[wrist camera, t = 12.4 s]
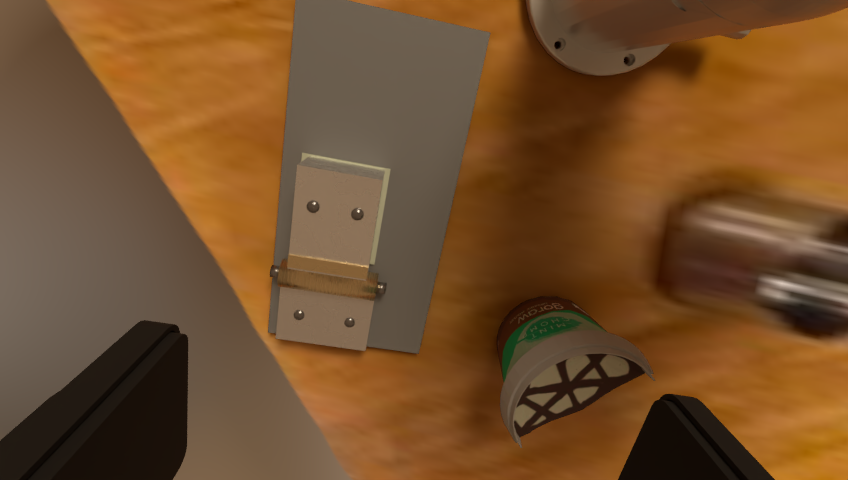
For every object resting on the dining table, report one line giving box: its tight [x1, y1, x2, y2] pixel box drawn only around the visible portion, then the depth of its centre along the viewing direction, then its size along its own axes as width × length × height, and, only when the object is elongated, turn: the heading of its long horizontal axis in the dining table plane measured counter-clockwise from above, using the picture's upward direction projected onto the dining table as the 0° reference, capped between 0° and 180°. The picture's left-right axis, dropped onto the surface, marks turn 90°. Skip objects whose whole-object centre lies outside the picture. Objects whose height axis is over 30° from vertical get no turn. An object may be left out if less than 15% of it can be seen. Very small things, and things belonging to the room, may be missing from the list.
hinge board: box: [268, 0, 490, 354], centre depth 35 cm, size 14×28×1 cm, turn 169°
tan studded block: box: [287, 156, 385, 281], centre depth 33 cm, size 6×8×4 cm
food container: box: [497, 297, 655, 448], centre depth 36 cm, size 12×6×10 cm, turn 122°
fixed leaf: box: [270, 258, 387, 351], centre depth 37 cm, size 10×8×2 cm
